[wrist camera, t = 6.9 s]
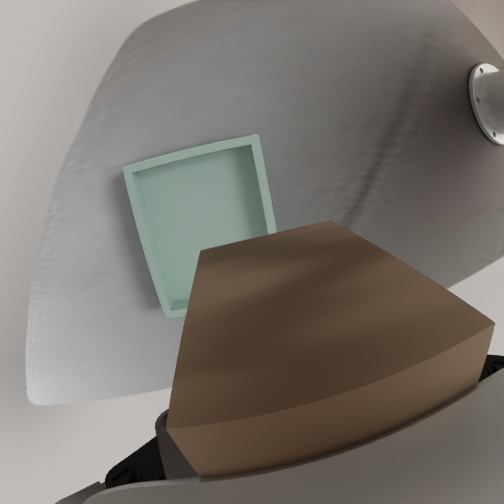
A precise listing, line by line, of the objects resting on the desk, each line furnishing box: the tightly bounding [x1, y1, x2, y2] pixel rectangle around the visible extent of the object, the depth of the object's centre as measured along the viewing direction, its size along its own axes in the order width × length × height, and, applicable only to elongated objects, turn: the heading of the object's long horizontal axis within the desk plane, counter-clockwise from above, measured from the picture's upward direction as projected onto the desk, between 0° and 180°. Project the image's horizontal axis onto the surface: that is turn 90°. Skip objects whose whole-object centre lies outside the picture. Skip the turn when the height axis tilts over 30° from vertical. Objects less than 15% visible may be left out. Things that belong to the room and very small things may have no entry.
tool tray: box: [122, 134, 277, 319], centre depth 28 cm, size 13×16×3 cm
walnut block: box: [166, 221, 495, 478], centre depth 8 cm, size 5×8×8 cm, turn 12°
